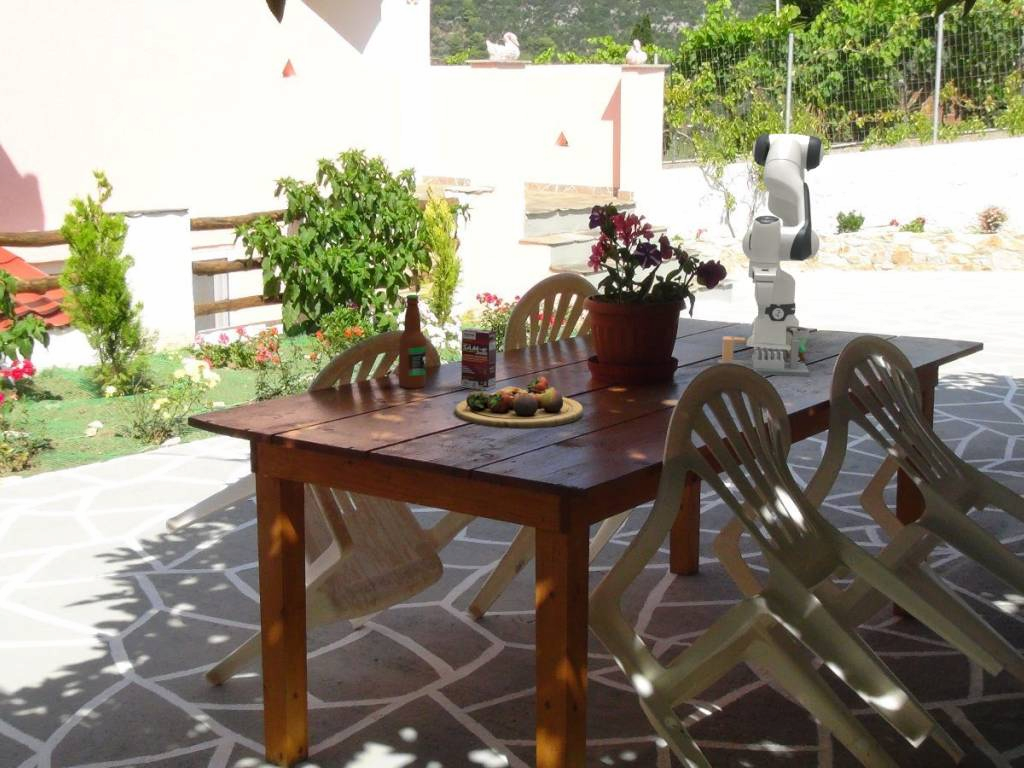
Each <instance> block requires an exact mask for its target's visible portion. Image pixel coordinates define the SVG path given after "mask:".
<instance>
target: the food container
mask: <svg viewBox="0 0 1024 768" xmlns="http://www.w3.org/2000/svg"><path fill="white" fill-rule="evenodd" d="M809 337H810V331H809V329H808V328H806V327H804V326H803V327H802V326H799V327H796V326H786V345H790V340H791V338H798V340H799V351H798V362H800V361H804V362H805V357H806V349H807V343H808V342H807V341H808V338H809ZM784 350H785V349H784ZM789 356H790V350H785V353H784V357H786V358H787V359H789ZM786 358H785V359H786ZM787 359H786V360H787ZM800 363H801V362H800Z"/></svg>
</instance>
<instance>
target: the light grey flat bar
mask: <svg viewBox="0 0 1024 768" xmlns="http://www.w3.org/2000/svg"><path fill="white" fill-rule="evenodd" d="M745 344H746V346H747V347H752V348H754V347H757V348H760V347H761V348H763V349H766V348H769V349H772V348H773V349H775V350H778V349H781V350H791V348H792V345H784V344H772V343H760V342H748V341H747V340H746V343H745Z"/></svg>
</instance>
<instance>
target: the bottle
mask: <svg viewBox="0 0 1024 768" xmlns="http://www.w3.org/2000/svg"><path fill="white" fill-rule="evenodd" d="M406 299H407V300H406V304H407V305H406V309H405V315H404V322H403V323H404V325H403V326H404V331H403V332H402V334H401V335H400V337H399V340H398V385H399V386H400V387H401V388H403V389H411V390H412V389H422V388H424V387H425V386H426V382H427V378H426V377H427V375H426V373H427V363H426V362H427V359H426V358H427V353H426V352H427V351H426V350H427V340H426V337H425V335H424V334H423V332H422V330H421V316H420V315H421V314H420V309H419V306H418V305H419V295H418V294H408V295H406Z"/></svg>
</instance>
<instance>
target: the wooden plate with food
mask: <svg viewBox="0 0 1024 768" xmlns="http://www.w3.org/2000/svg"><path fill="white" fill-rule="evenodd" d="M525 387H526V390H525V389H522V388H520V387H515V386H505V387H504V388H501V389H498V390H497V391H495V392H492V393H486V392H484V391H485V390H484V389H482V390H479V391H476V390H474V391H473V392H470V393H469V394H468V395H467V397H466V399H465V400H463V401H459V403H458V404H457V405H455V408H454V409H455V411H454V413H455V415H456V416H457V417H458V418H459V419H461V420H463V421H464V422H468V423H471V424H475V425H480V426H481V425H482V426H486V427H487V426H488V427H492V428H493V427H494V428H495V427H496V428H506V429H507V428H508V429H539V428H540V429H541V428H548V427H549V428H551V427H556V426H562V425H566V424H569V423H574V422H575V421H577V420H579V419H580V418H581V417H582V416H583V414H584V407H583V406H582V403H580V402H578V401H577V400H575V399H572V398H569V397H565V396H562V394H561V393H560V392H559V390H558V389H556V388H555V387H549V382H548V379H547V378H546V377H544V376H539V377H536V379H535V380H533V379H531V380H530V381H529V384H528V385H527V384H526V385H525Z"/></svg>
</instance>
